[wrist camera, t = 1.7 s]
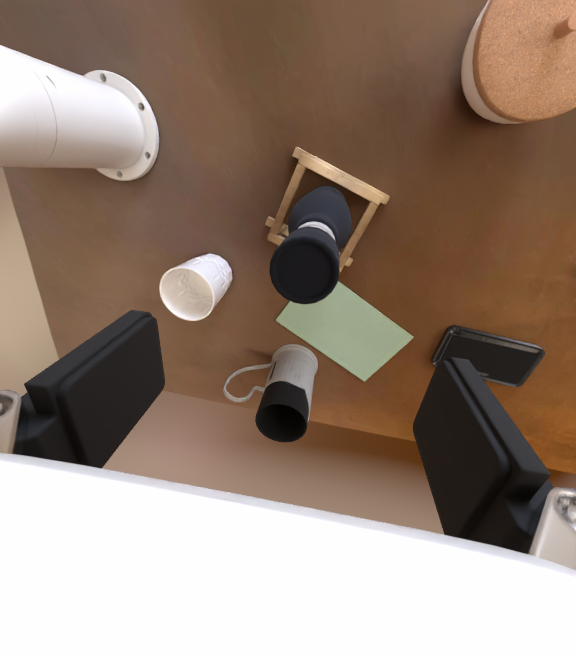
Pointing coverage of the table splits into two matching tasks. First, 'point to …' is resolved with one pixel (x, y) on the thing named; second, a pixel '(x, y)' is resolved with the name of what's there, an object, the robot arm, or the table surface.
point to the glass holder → (284, 393)
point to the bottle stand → (339, 178)
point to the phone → (490, 355)
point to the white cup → (195, 286)
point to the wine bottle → (312, 247)
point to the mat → (346, 330)
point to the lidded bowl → (521, 60)
